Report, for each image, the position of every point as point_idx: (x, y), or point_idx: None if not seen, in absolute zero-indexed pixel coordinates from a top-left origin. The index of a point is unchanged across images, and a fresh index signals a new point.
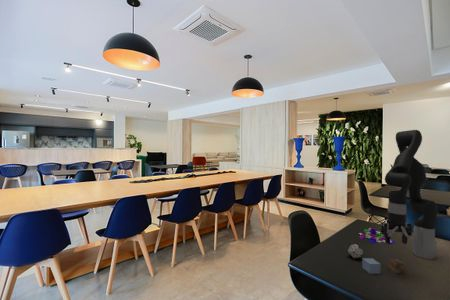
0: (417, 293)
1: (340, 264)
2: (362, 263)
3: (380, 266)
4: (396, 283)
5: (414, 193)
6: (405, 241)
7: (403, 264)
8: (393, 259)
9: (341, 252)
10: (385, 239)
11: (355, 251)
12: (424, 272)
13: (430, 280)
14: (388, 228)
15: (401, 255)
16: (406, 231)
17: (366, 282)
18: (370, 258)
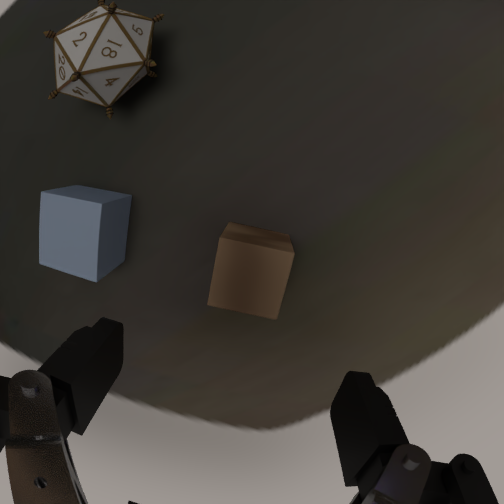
0: (168, 404)
1: (9, 143)
2: (61, 188)
3: (104, 275)
4: (138, 343)
5: None
6: (337, 435)
7: (271, 314)
8: (255, 253)
9: (107, 4)
10: (67, 350)
11: (64, 90)
12: (403, 305)
13: (342, 364)
14: (31, 498)
15: (481, 122)
16: (457, 500)
17: (27, 298)
18: (86, 201)
